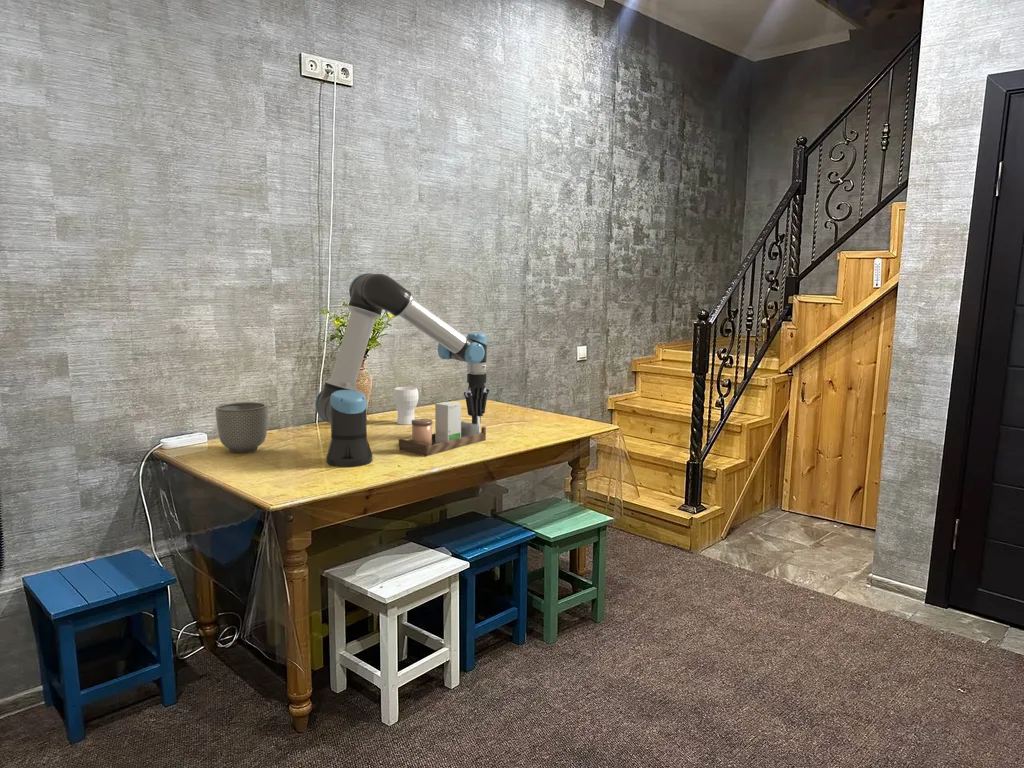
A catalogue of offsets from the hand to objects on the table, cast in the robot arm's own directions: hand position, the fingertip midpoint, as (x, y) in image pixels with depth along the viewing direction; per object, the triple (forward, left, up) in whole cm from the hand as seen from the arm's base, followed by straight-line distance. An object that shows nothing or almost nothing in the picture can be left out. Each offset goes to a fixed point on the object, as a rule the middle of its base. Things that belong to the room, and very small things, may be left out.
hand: (476, 432), depth 278 cm
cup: (0, +39, -2) cm, 39 cm away
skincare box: (-17, 0, -2) cm, 17 cm away
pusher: (-4, 0, -1) cm, 4 cm away
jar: (-30, 0, -2) cm, 30 cm away
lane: (-19, 0, -2) cm, 19 cm away
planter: (-71, +48, -2) cm, 86 cm away
